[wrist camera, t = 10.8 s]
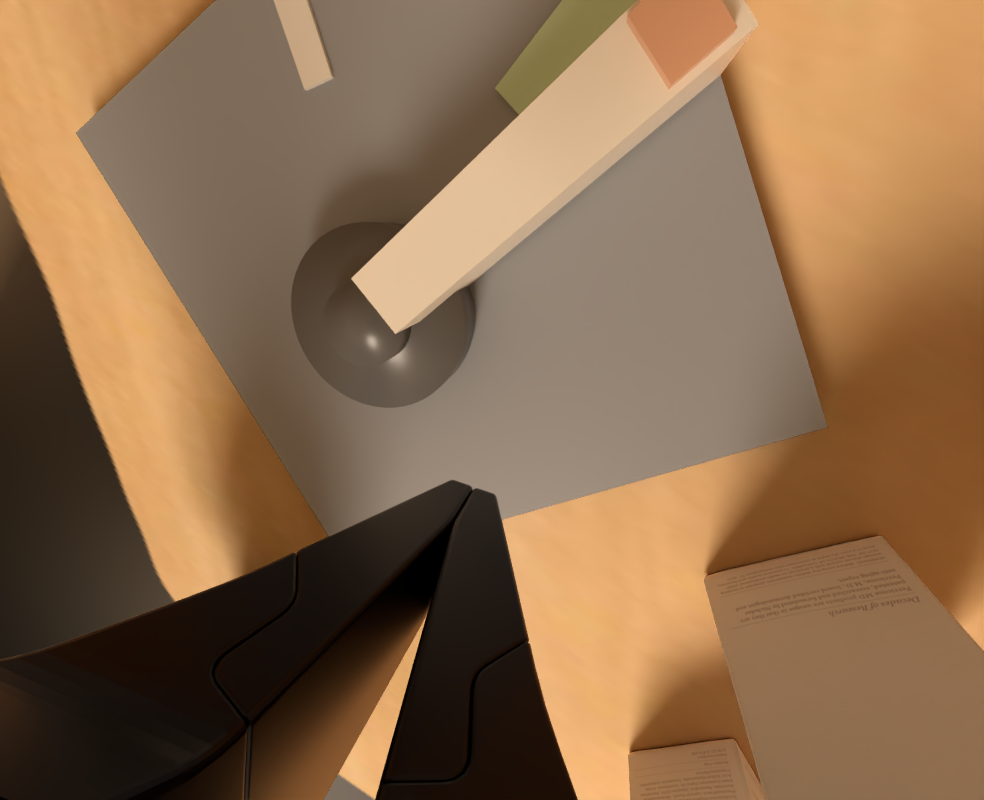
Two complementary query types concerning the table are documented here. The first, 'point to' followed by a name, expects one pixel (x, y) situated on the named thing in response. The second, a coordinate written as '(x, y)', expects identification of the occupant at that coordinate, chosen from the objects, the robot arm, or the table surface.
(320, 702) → the robot arm
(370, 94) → the grey mat
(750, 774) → the product box
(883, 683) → the supplement box
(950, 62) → the table surface
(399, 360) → the beige bar with disc
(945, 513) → the table surface
